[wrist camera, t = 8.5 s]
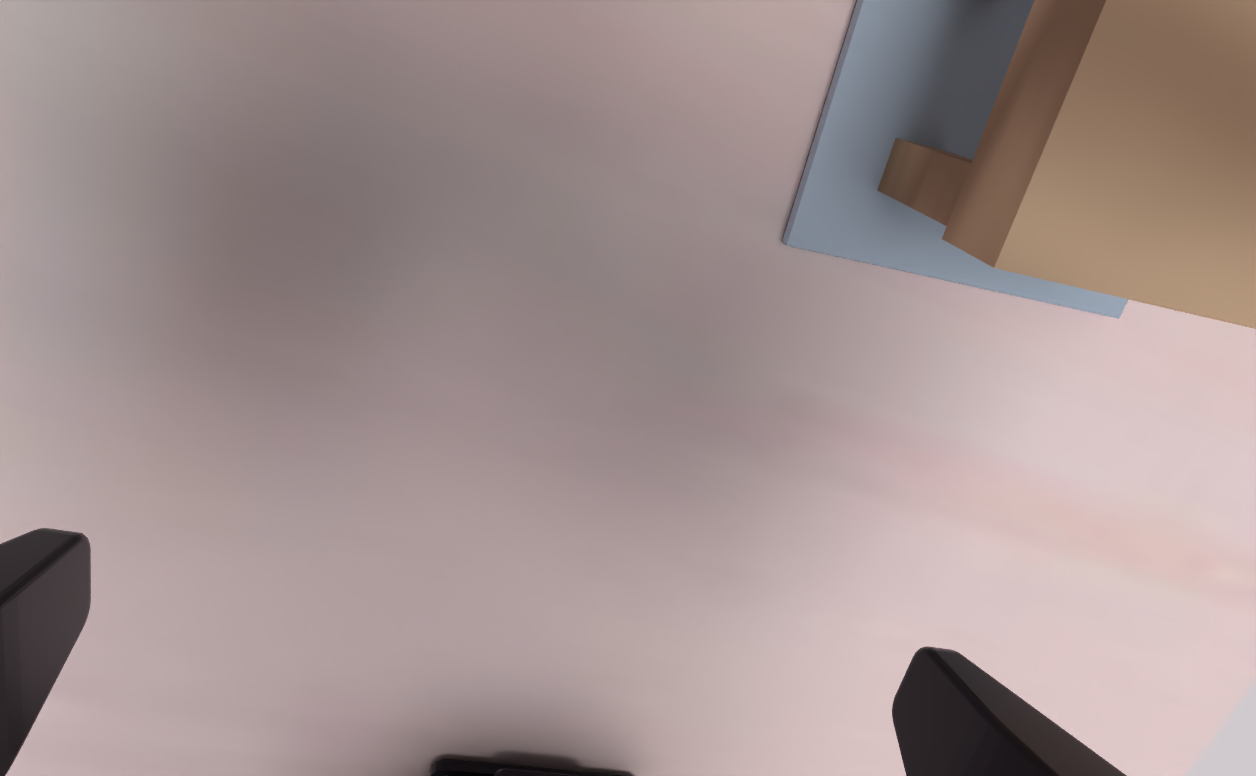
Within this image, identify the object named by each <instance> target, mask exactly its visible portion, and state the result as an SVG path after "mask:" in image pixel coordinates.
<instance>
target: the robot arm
mask: <svg viewBox="0 0 1256 776" xmlns="http://www.w3.org/2000/svg"><path fill="white" fill-rule="evenodd" d="M90 602H91V564H90V543H89V540H88V538H87V537H86V536H85V535H84V534H82V533H78V532H71V531H63V530H56V529H48V528H41V529H37V530H34V531H31V532H28V533H26V534H24V535H21V536H19V537H16V538H14V539H11V540H9V541H6V542H4V543H2V544H0V776H5V775H6V773H7V772H8V770H9V769H10V767H11V765H12V763H13V762H14V760H15V758H16V756H17V754H18V752H19V751H20V749H21V747H22V745H23V743H24V741H25V739H26V738H27V736H28V734H29V732H30V730H31V728H32V726H33V724H34V722H35V720H36V718H37V716H38V714H39V712H40V710H41V708H42V707H43V705H44V703H45V701H46V699H47V697H48V695H49V693H50V691H51V689H52V687H53V685H54V683H55V681H56V679H57V677H58V676H59V674H60V672H61V670H62V668H63V666H64V664H65V662H66V660H67V658H68V656H69V654H70V652H71V650H72V648H73V646H74V645H75V643H76V641H77V639H78V637H79V635H80V633H81V631H82V629H83V627H84V625H85V622H86V620H87V617H88V613H89V609H90ZM892 716H893V723H894V727H895V731H896V735H897V739H898V743H899V747H900V751H901V755H902V760H903V764H904V768H905V772H906V776H1126V775H1125V774H1124V773H1122V772H1121V771H1120V770H1118V769H1117V768H1115V767H1114V766H1113V765H1111V764H1110V763H1109V762H1107V761H1106V760H1105V759H1103V758H1102V757H1100V756H1099V755H1098V754H1096V753H1095V752H1094V751H1092V750H1091V749H1089V748H1088V747H1087V746H1085V745H1084V744H1083V743H1081V742H1080V741H1079V740H1077V739H1076V738H1074V737H1073V736H1072V735H1070V734H1069V733H1068V732H1066V731H1065V730H1064V729H1062V728H1061V727H1059V726H1058V725H1057V724H1055V723H1054V722H1053V721H1051V720H1050V719H1049V718H1047V717H1046V716H1044V715H1043V714H1042V713H1040V712H1039V711H1038V710H1036V709H1035V708H1034V707H1032V706H1031V705H1029V704H1028V703H1027V702H1025V701H1024V700H1023V699H1021V698H1020V697H1019V696H1017V695H1016V694H1014V693H1013V692H1012V691H1010V690H1009V689H1008V688H1006V687H1005V686H1004V685H1002V684H1001V683H999V682H998V681H997V680H995V679H994V678H993V677H991V676H990V675H989V674H987V673H986V672H984V671H983V670H982V669H980V668H979V667H978V666H976V665H975V664H974V663H972V662H971V661H969V660H968V659H967V658H965V657H964V656H963V655H961V654H960V653H958V652H956V651H954V650H950V649H942V648H935V647H923V648H920V649H919V650H918V651H917V652H916V653H915V655H914V656H913V658H912V661H911V663H910V665H909V667H908V669H907V671H906V674H905V676H904V678H903V680H902V682H901V684H900V687H899V689H898V691H897V693H896V695H895V698H894V702H893V708H892ZM429 776H620V775H610V774H599V773H589V772H578V771H568V770H558V769H547V768H537V767H526V766H516V765H505V764H495V763H484V762H474V761H464V760H453V759H442V760H439V761H436V762H435V763H434V764H433V765H432V766H431V768H430V771H429Z"/></svg>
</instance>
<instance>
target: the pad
mask: <svg viewBox="0 0 1256 776" xmlns="http://www.w3.org/2000/svg"><path fill="white" fill-rule="evenodd" d="M1034 1H1035V0H857V2H856V5H855V9H854V12H853V15H852V18H851V22H850V25H849V28H848V31H847V34H846V38H845V41H844V44H843V47H842V50H841V54H840V57H839V60H838V63H837V67H836V70H835V73H834V76H833V79H832V83H831V86H830V89H829V92H828V95H827V99H826V102H825V105H824V108H823V112H822V115H821V118H820V121H819V124H818V128H817V131H816V134H815V137H814V140H813V144H812V147H811V150H810V153H809V157H808V160H807V163H806V166H805V169H804V173H803V176H802V179H801V182H800V185H799V189H798V192H797V195H796V198H795V202H794V205H793V208H792V211H791V214H790V218H789V221H788V224H787V227H786V230H785V234H784V237H783V240H782V242H783V243H785V244H786V245H787V246H791V247H796V248H800V249H805V250H810V251H814V252H819V253H823V254H828V255H832V256H837V257H841V258H846V259H850V260H855V261H860V262H864V263H869V264H873V265H878V266H882V267H887V268H891V269H896V270H900V271H905V272H910V273H914V274H919V275H923V276H928V277H932V278H937V279H941V280H946V281H950V282H955V283H960V284H964V285H969V286H973V287H978V288H982V289H987V290H991V291H996V292H1000V293H1005V294H1010V295H1014V296H1019V297H1023V298H1028V299H1032V300H1037V301H1041V302H1046V303H1050V304H1055V305H1060V306H1064V307H1069V308H1073V309H1078V310H1082V311H1087V312H1091V313H1096V314H1101V315H1105V316H1110V317H1114V318H1120V315H1121V313H1122V311H1123V309H1124V307H1125V305H1126V303H1127V301H1128V299H1125V298H1121V297H1117V296H1112V295H1108V294H1104V293H1099V292H1095V291H1091V290H1086V289H1082V288H1078V287H1074V286H1069V285H1065V284H1061V283H1056V282H1052V281H1048V280H1043V279H1039V278H1035V277H1031V276H1026V275H1022V274H1018V273H1013V272H1009V271H1005V270H1000V269H996V268H993V267H991V266H989V265H988V264H986V263H984V262H982V261H981V260H979V259H977V258H975V257H973V256H972V255H970V254H968V253H966V252H964V251H963V250H961V249H959V248H957V247H955V246H954V245H952V244H950V243H948V242H946V241H945V240H943V239H942V237H943V234H944V232H945V229H946V227H947V226H945V225H943V224H941V223H939V222H937V221H935V220H933V219H932V218H930V217H928V216H926V215H924V214H922V213H920V212H918V211H916V210H914V209H912V208H910V207H908V206H907V205H905V204H903V203H901V202H899V201H897V200H895V199H893V198H891V197H889V196H887V195H885V194H883V193H881V192H880V191H878V187H879V184H880V181H881V178H882V176H883V173H884V170H885V167H886V164H887V161H888V159H889V156H890V153H891V150H892V147H893V144H894V142H895V139H896V138H899V139H903V140H906V141H910V142H914V143H918V144H922V145H926V146H930V147H934V148H937V149H941V150H945V151H948V152H951V153H954V154H957V155H960V156H963V157H966V158H969V159H972V160H973V157H974V155H975V152H976V150H977V147H978V144H979V142H980V139H981V137H982V134H983V132H984V129H985V126H986V124H987V121H988V119H989V116H990V114H991V111H992V108H993V106H994V103H995V101H996V98H997V96H998V93H999V90H1000V88H1001V85H1002V83H1003V80H1004V78H1005V75H1006V73H1007V70H1008V67H1009V65H1010V62H1011V60H1012V57H1013V55H1014V52H1015V49H1016V47H1017V44H1018V42H1019V39H1020V37H1021V34H1022V31H1023V29H1024V26H1025V24H1026V21H1027V19H1028V16H1029V14H1030V11H1031V8H1032V6H1033V3H1034Z"/></svg>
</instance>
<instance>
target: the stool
mask: <svg viewBox="0 0 1256 776" xmlns="http://www.w3.org/2000/svg"><path fill="white" fill-rule="evenodd" d="M878 191H880V192H881V193H883V194H885V195H887V196H889V197H891V198H893V199H895V200H897V201H899V202H901V203H903V204H905V205H907V206H908V207H910V208H912V209H914V210H916V211H918V212H920V213H922V214H924V215H926V216H928V217H930V218H932V219H933V220H935V221H937V222H939V223H941V224H943V225H945V226H947V227H946V229H945V232H944V234H943V237H942V239H943V240H945V241H946V242H948V243H950V244H952V245H954V246H955V247H957V248H959V249H961V250H963V251H964V252H966V253H968V254H970V255H972V256H973V257H975V258H977V259H979V260H981V261H982V262H984V263H986V264H988V265H989V266H991V267H993V268H996V269H1000V270H1005V271H1009V272H1013V273H1018V274H1022V275H1026V276H1031V277H1035V278H1039V279H1043V280H1048V281H1052V282H1056V283H1061V284H1065V285H1069V286H1074V287H1078V288H1082V289H1086V290H1091V291H1095V292H1099V293H1104V294H1108V295H1112V296H1117V297H1121V298H1125V299H1130V300H1134V301H1138V302H1142V303H1147V304H1151V305H1155V306H1160V307H1164V308H1168V309H1173V310H1177V311H1181V312H1186V313H1190V314H1194V315H1198V316H1203V317H1207V318H1211V319H1216V320H1220V321H1224V322H1229V323H1233V324H1237V325H1241V326H1246V327H1250V328H1254V329H1256V0H1035V1H1034V3H1033V6H1032V8H1031V11H1030V14H1029V16H1028V19H1027V21H1026V24H1025V26H1024V29H1023V31H1022V34H1021V37H1020V39H1019V42H1018V44H1017V47H1016V49H1015V52H1014V55H1013V57H1012V60H1011V62H1010V65H1009V67H1008V70H1007V73H1006V75H1005V78H1004V80H1003V83H1002V85H1001V88H1000V90H999V93H998V96H997V98H996V101H995V103H994V106H993V108H992V111H991V114H990V116H989V119H988V121H987V124H986V126H985V129H984V132H983V134H982V137H981V139H980V142H979V144H978V147H977V150H976V152H975V155H974V157H973V160H972V159H969V158H966V157H963V156H960V155H957V154H954V153H951V152H948V151H945V150H941V149H937V148H934V147H930V146H926V145H922V144H918V143H914V142H910V141H906V140H903V139H899V138H896V139H895V142H894V144H893V147H892V150H891V153H890V156H889V159H888V161H887V164H886V167H885V170H884V173H883V176H882V178H881V181H880V184H879V187H878Z"/></svg>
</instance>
